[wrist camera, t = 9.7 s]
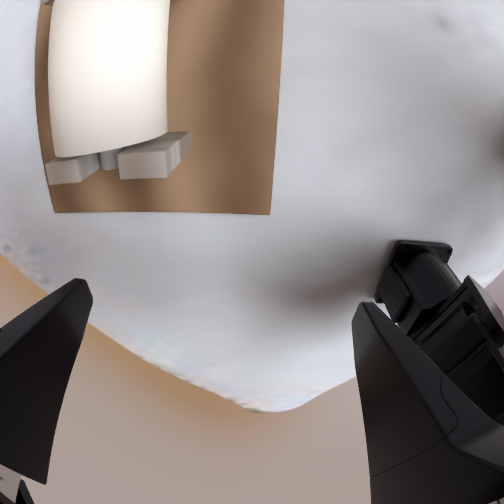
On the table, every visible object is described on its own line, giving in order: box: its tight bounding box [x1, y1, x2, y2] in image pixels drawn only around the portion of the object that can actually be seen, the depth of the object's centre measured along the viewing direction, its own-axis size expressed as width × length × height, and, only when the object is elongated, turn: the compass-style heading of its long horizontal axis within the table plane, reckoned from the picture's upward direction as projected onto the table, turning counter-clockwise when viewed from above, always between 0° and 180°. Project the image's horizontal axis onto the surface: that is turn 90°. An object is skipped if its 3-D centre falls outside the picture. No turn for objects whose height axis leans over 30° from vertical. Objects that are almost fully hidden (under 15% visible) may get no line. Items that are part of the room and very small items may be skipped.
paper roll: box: [48, 0, 170, 170], centre depth 9 cm, size 6×11×6 cm, turn 177°
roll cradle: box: [35, 0, 284, 215], centre depth 10 cm, size 17×20×6 cm
